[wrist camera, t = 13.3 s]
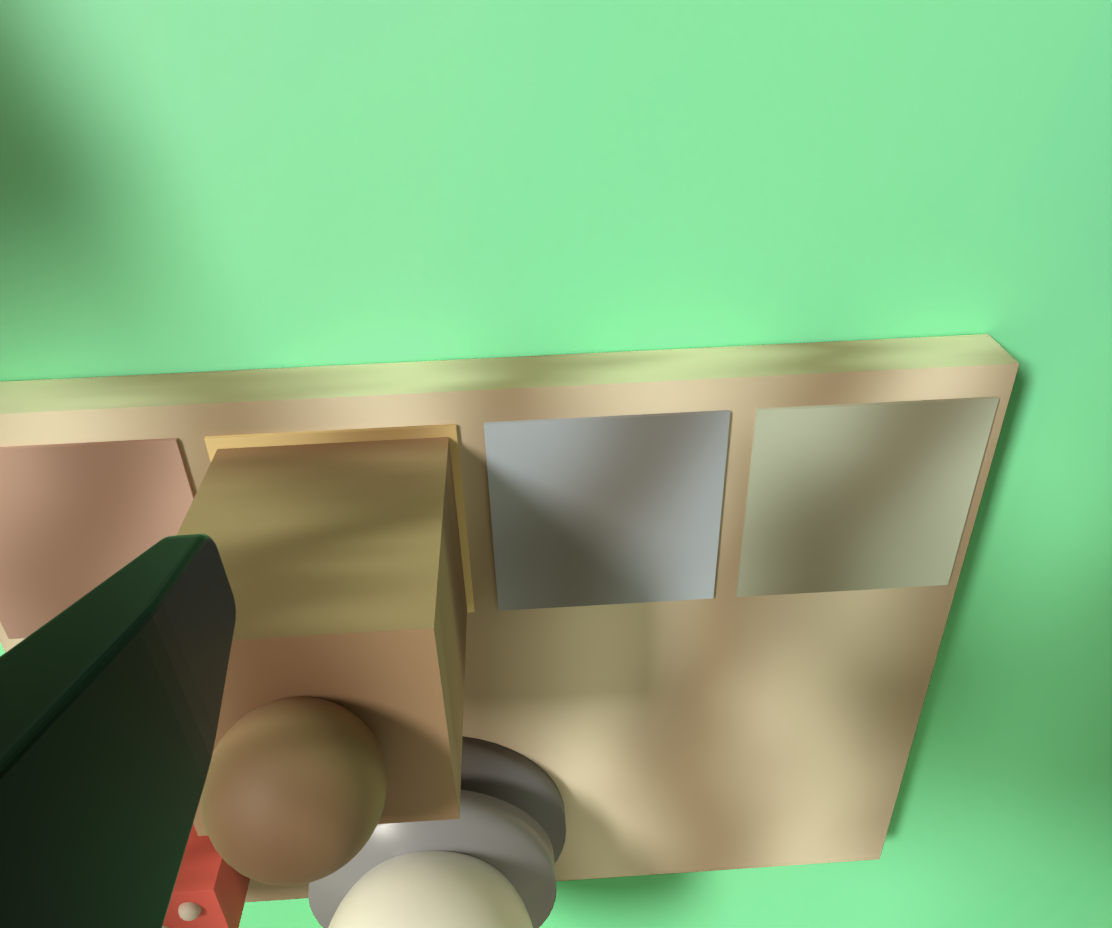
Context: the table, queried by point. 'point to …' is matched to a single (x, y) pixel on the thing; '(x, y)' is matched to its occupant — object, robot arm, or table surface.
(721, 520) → the game board
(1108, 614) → the table surface
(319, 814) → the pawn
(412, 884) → the dome
